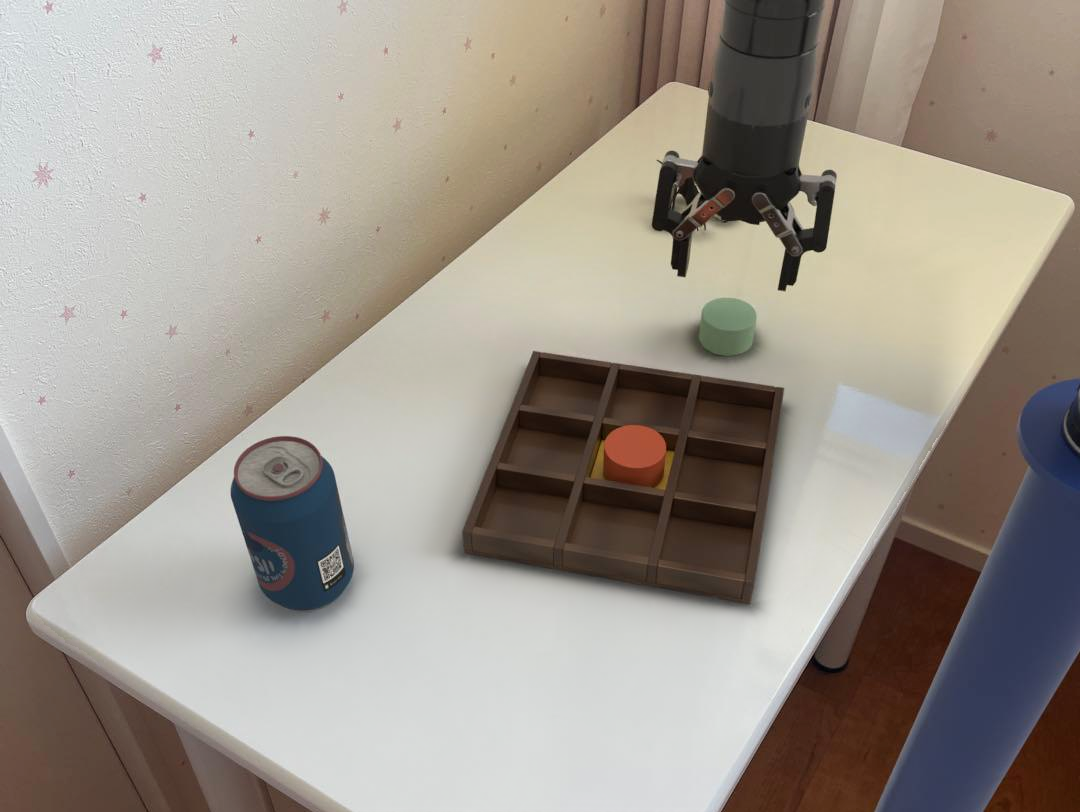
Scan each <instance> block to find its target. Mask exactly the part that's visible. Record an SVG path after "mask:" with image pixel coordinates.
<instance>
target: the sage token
mask: <svg viewBox="0 0 1080 812" xmlns="http://www.w3.org/2000/svg"><path fill="white" fill-rule="evenodd" d="M757 317H758V315H757V311H756V310H755V308H754V307H753V306H752V305H751V304H750V303H748V302H747V301H745V300H742V299H739V298H735V297H717V298H715V299H711V300H710V301H708V302H707V303H706V304H705V305H703V307H702V310H701V315H700V324H699V332H698V341H699V343H700V345H701V346H702V347H703V349H705V350H706V351H707V352H710V353H712V354H714V355H718V356H723V357H725V356H726V357H733V356H738V355H741V354H743V353H746V352H747V351H748V350H749V349H750V348H751V347H752V345H753V341H754V336H755V330H756V325H757V319H758V318H757Z"/></svg>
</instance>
